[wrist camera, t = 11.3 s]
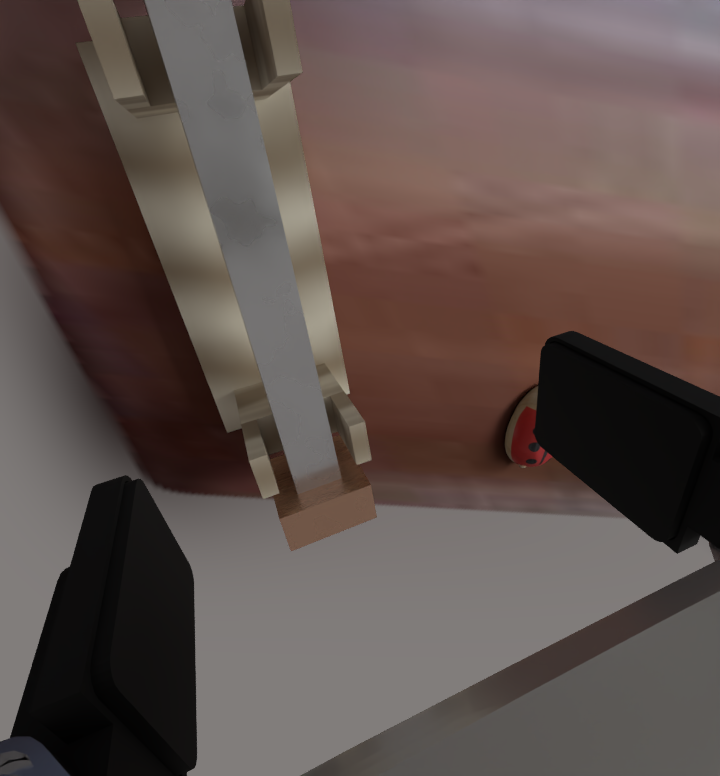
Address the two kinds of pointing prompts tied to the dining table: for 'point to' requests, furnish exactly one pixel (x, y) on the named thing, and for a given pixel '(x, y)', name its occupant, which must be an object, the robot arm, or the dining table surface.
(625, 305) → the dining table surface
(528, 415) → the ladybug figurine
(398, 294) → the dining table surface
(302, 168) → the hanger stand
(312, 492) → the steel bar
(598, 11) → the dining table surface
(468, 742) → the robot arm
